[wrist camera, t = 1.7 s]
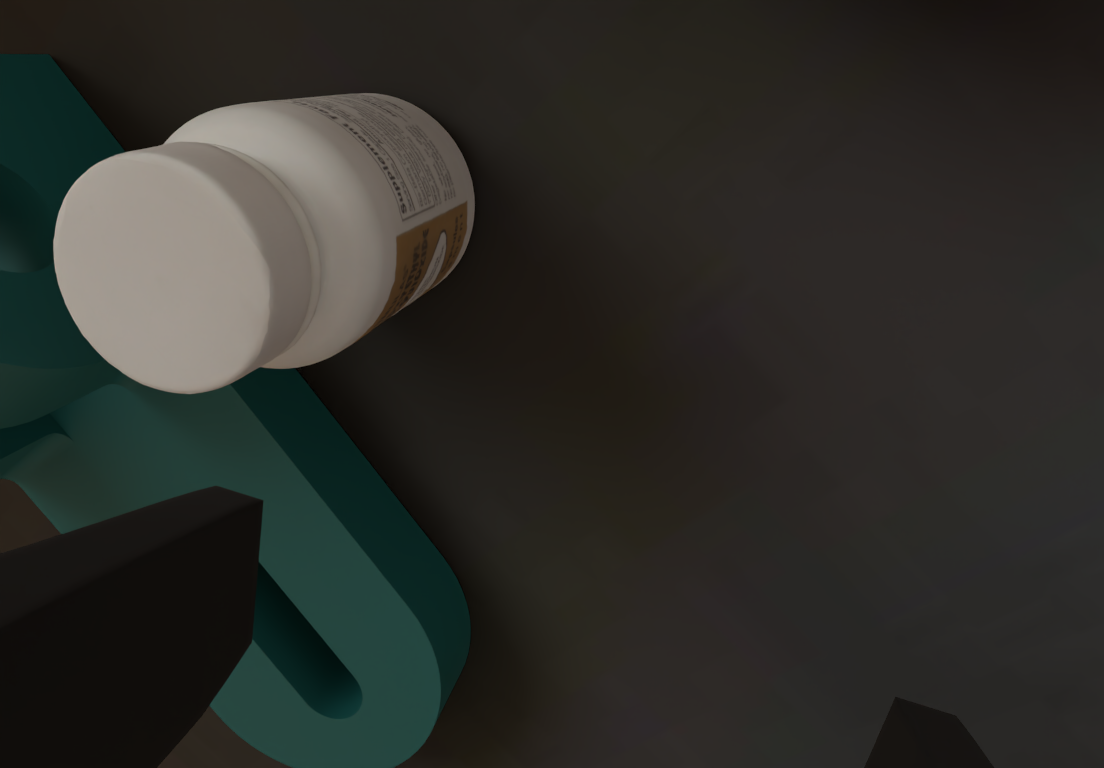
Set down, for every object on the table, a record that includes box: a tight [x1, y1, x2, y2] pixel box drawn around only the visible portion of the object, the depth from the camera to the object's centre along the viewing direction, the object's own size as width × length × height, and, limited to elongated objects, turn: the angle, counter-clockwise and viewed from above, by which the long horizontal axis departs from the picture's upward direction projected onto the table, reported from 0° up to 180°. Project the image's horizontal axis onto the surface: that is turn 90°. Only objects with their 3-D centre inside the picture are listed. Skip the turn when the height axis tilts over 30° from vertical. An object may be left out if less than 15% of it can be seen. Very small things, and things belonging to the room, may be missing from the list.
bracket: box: [0, 54, 471, 768], centre depth 19 cm, size 18×7×8 cm, turn 37°
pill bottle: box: [53, 93, 475, 394], centre depth 16 cm, size 4×4×8 cm
